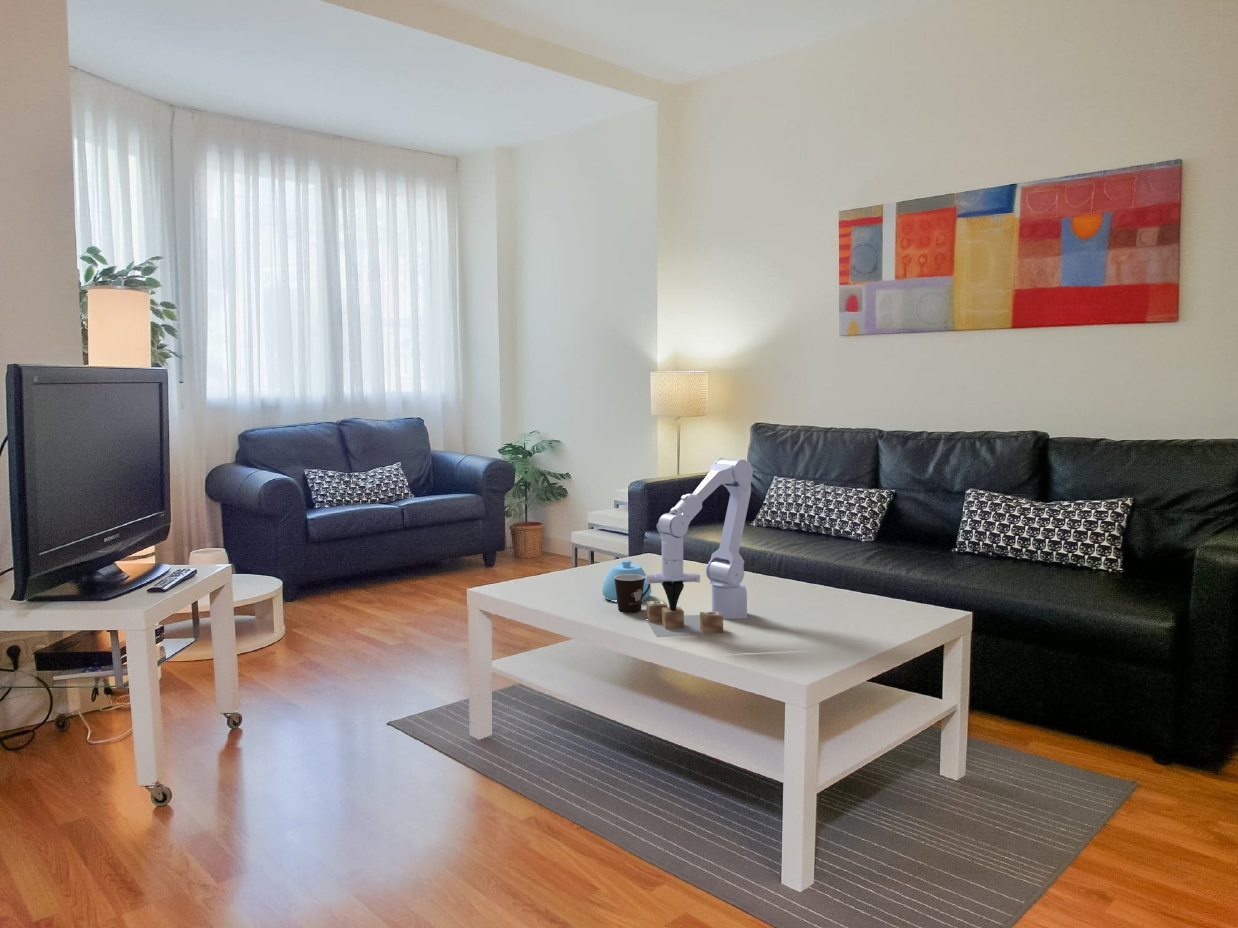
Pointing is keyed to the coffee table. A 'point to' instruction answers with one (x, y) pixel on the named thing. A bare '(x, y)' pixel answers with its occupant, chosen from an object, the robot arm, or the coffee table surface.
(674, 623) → the plain block
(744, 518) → the robot arm
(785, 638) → the coffee table surface
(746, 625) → the coffee table surface
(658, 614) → the labelled block
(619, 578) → the coffee mug
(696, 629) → the grey mat
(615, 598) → the sugar bowl
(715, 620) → the labelled block
